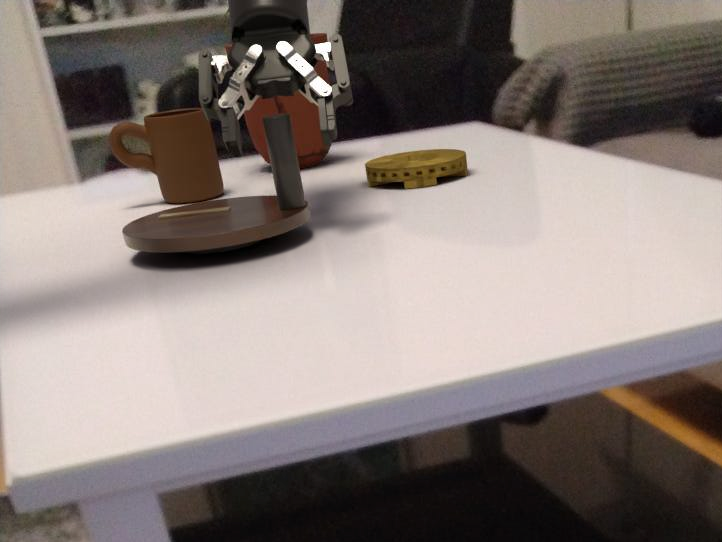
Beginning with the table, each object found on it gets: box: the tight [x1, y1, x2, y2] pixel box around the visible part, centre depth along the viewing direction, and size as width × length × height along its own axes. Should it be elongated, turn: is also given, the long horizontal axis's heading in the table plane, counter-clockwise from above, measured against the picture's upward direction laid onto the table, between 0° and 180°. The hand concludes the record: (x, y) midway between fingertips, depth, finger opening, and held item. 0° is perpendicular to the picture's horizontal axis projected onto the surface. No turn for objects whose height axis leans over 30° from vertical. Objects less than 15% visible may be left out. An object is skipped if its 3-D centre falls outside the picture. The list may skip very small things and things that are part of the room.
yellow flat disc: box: [364, 148, 469, 190], centre depth 121 cm, size 12×12×2 cm
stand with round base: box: [121, 113, 311, 255], centre depth 98 cm, size 18×18×11 cm
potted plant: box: [224, 0, 341, 169], centre depth 127 cm, size 17×16×35 cm
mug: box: [108, 107, 225, 204], centre depth 122 cm, size 12×8×9 cm, turn 107°
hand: (281, 146), depth 96 cm, fingers open, 8 cm apart
